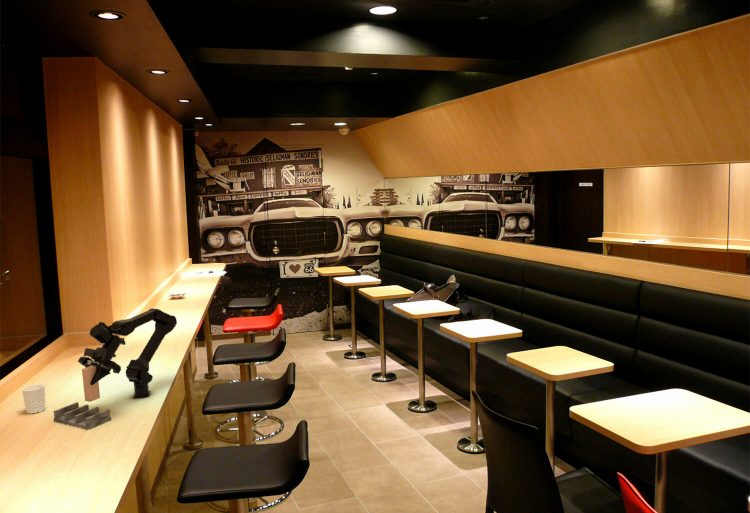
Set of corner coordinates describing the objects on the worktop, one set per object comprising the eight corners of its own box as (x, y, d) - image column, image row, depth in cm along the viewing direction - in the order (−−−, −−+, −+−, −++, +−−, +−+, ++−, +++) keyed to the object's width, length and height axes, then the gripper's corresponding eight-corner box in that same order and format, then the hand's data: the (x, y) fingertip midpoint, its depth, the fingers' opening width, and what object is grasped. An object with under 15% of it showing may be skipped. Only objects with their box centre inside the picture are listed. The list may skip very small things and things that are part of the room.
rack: (76, 411, 244) (75, 402, 244) (111, 419, 235) (110, 409, 235) (53, 421, 235) (52, 410, 235) (88, 429, 226) (87, 419, 226)
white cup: (22, 415, 242) (19, 391, 241) (27, 408, 249) (25, 385, 248) (44, 413, 244) (41, 389, 243) (49, 406, 252) (46, 383, 250)
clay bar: (94, 396, 241) (91, 365, 240) (100, 397, 240) (96, 366, 238) (85, 400, 237) (81, 368, 236) (90, 401, 236) (87, 369, 234)
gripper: (79, 336, 243) (57, 371, 235) (112, 341, 235) (90, 377, 227) (98, 350, 251) (77, 384, 243) (130, 355, 243) (109, 391, 235)
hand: (88, 384), depth 237 cm, fingers closed on clay bar, 3 cm apart
